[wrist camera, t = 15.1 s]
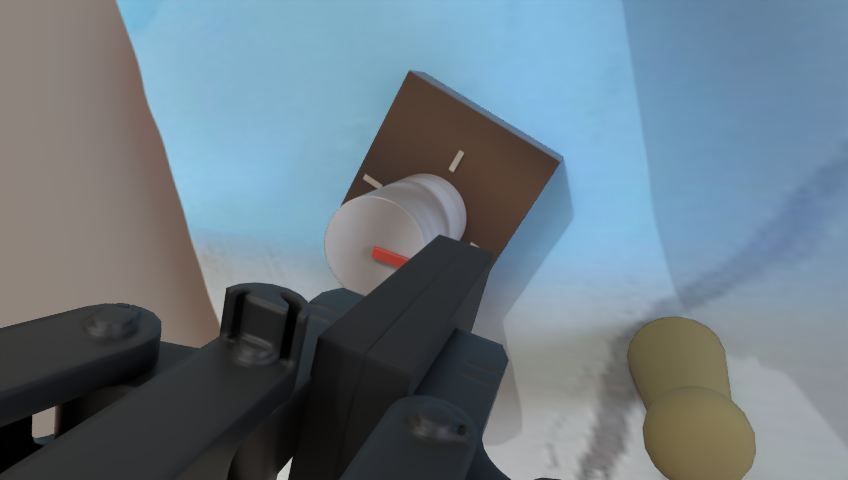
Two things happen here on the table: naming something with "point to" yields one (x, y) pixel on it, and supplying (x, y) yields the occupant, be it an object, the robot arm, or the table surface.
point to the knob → (390, 229)
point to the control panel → (459, 158)
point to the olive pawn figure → (689, 403)
